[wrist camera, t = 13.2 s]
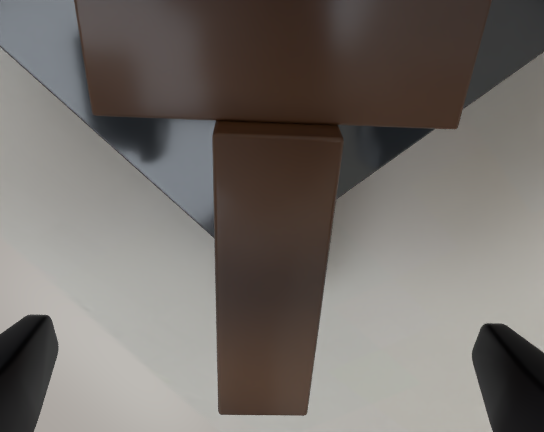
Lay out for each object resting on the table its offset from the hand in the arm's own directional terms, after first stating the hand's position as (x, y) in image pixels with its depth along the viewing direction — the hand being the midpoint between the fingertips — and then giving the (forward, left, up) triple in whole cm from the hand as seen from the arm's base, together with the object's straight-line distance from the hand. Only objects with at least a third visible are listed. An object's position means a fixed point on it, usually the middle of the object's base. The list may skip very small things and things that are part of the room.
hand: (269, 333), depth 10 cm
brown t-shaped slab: (+2, +2, -5) cm, 5 cm away
